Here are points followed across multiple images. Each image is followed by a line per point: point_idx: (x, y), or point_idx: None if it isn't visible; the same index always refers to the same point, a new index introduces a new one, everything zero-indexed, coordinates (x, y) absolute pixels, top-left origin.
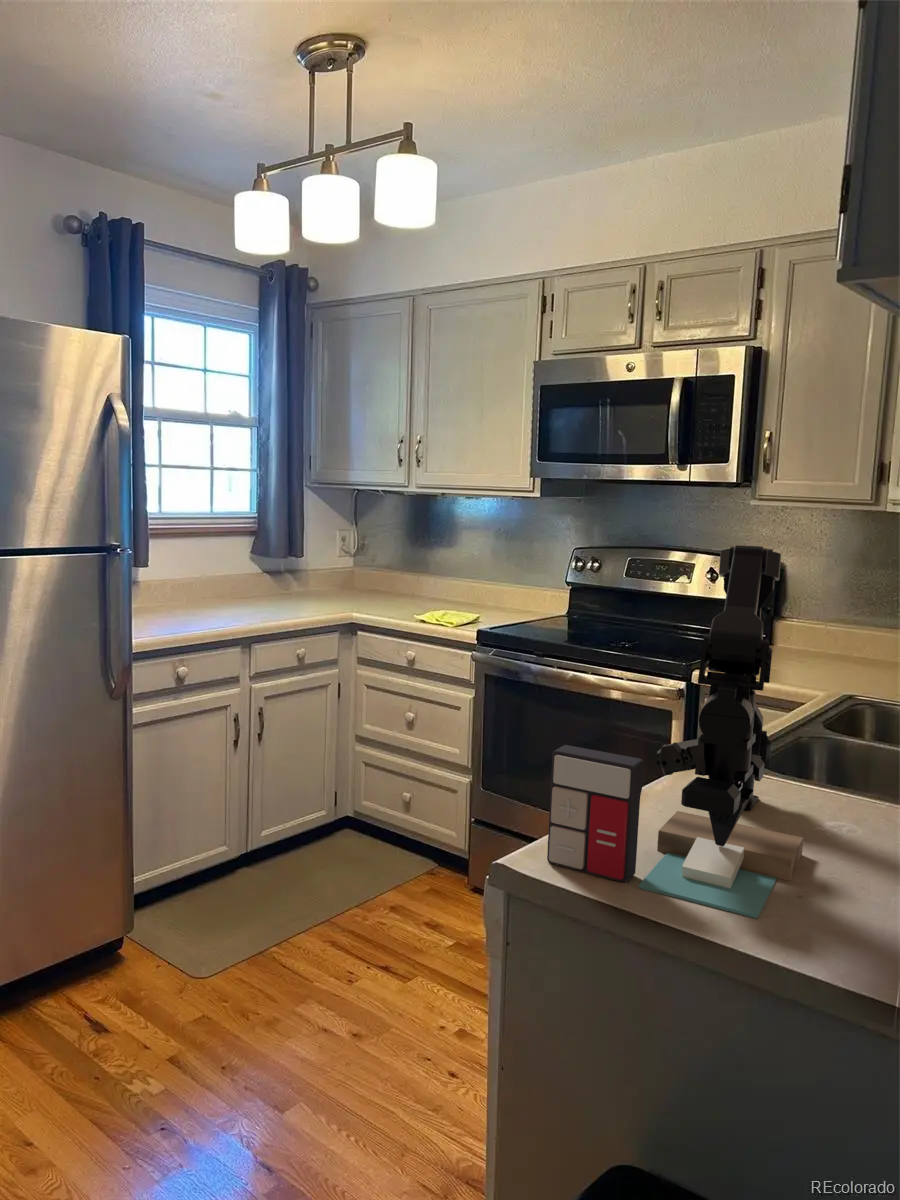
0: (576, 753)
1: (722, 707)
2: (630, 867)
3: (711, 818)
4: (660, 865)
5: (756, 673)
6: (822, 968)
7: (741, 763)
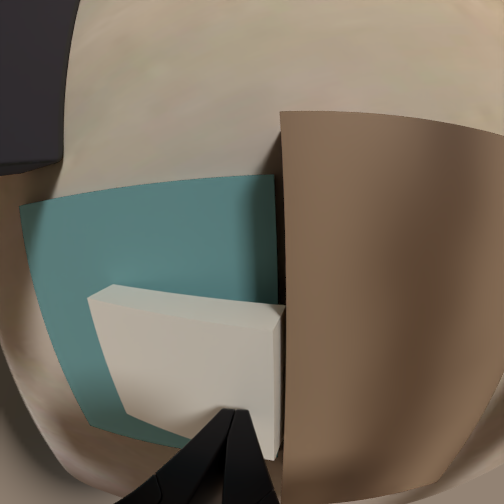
0: None
1: None
2: (6, 173)
3: (142, 489)
4: (136, 199)
5: None
6: (65, 454)
7: None
